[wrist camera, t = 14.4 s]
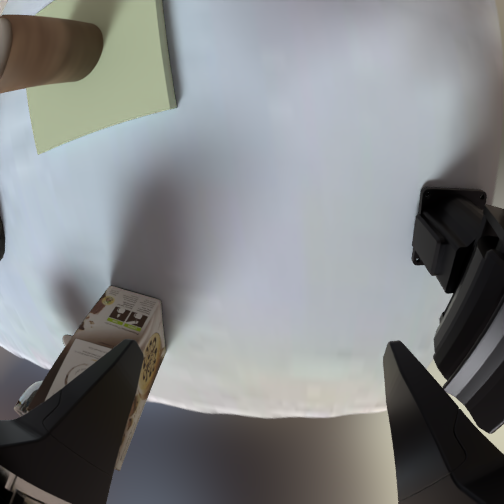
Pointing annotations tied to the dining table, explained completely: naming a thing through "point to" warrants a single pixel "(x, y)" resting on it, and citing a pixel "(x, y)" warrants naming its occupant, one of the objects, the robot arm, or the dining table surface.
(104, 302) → the coffee box
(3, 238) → the beer stein
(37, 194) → the dining table surface
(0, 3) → the milk
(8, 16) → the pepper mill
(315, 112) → the dining table surface
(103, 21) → the serving board
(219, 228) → the dining table surface
